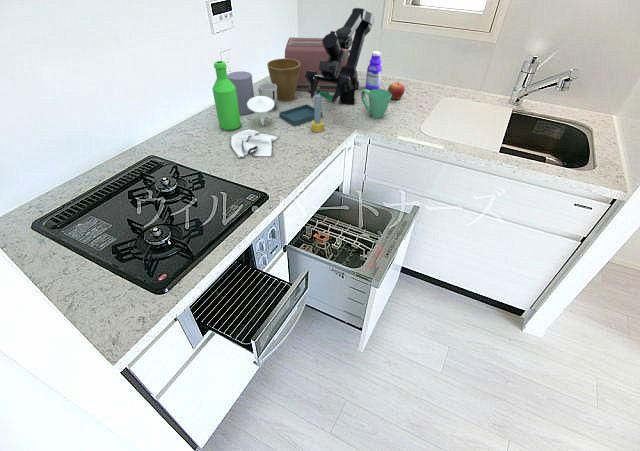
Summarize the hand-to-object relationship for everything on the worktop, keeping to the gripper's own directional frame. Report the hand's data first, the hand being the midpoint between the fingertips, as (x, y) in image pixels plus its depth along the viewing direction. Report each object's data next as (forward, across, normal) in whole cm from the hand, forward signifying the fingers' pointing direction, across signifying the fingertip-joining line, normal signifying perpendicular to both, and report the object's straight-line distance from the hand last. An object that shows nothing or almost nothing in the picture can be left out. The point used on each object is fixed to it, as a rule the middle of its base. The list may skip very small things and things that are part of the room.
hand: (321, 100), depth 134 cm
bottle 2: (-29, +5, +44) cm, 53 cm away
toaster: (-23, -22, +38) cm, 50 cm away
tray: (+5, -12, +10) cm, 16 cm away
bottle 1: (+21, -33, -5) cm, 39 cm away
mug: (-7, +16, +23) cm, 29 cm away
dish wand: (+10, 0, +5) cm, 12 cm away
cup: (+4, -28, +11) cm, 31 cm away
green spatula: (-12, -12, +27) cm, 32 cm away
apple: (-24, +19, +39) cm, 50 cm away
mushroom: (+16, -22, 0) cm, 27 cm away
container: (+9, -38, +7) cm, 39 cm away
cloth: (+27, -16, -11) cm, 33 cm away
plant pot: (-6, -28, +21) cm, 35 cm away
